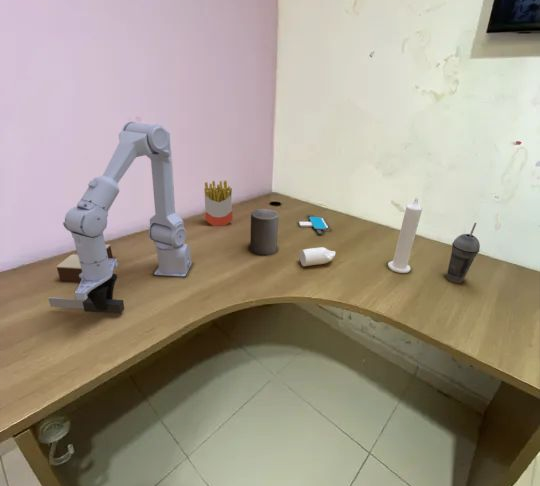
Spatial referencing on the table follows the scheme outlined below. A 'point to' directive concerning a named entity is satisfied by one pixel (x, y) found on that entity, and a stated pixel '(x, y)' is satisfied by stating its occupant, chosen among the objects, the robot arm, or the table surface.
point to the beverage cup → (462, 256)
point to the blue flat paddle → (316, 224)
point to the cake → (70, 269)
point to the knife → (88, 305)
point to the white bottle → (315, 256)
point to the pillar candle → (264, 231)
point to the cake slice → (109, 251)
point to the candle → (406, 238)
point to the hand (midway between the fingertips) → (104, 305)
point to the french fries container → (218, 203)
